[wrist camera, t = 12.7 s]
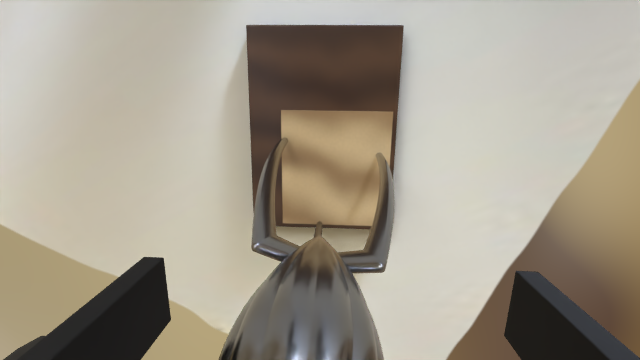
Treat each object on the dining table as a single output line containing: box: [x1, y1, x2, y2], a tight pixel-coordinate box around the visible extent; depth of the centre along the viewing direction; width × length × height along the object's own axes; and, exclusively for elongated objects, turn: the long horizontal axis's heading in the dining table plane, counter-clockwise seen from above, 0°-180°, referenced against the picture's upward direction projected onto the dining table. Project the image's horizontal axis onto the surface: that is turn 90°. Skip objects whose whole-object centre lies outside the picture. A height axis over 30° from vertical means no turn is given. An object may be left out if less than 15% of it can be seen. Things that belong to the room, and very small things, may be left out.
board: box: [246, 25, 403, 229], centre depth 35 cm, size 22×16×2 cm
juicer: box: [219, 137, 394, 360], centre depth 20 cm, size 10×11×30 cm
